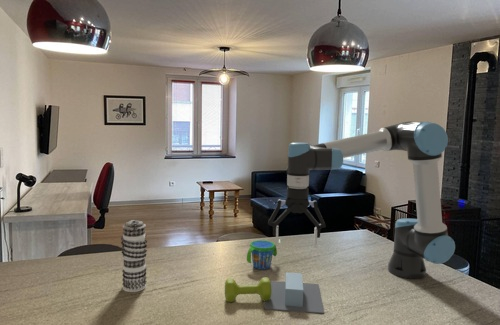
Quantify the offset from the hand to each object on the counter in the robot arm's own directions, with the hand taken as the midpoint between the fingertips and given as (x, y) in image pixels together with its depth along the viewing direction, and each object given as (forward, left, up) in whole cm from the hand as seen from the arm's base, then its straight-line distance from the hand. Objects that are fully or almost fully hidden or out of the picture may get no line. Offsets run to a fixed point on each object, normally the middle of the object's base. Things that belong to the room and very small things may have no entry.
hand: (295, 245), depth 136 cm
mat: (0, 0, -19) cm, 19 cm away
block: (0, +8, -16) cm, 18 cm away
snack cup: (+13, -26, -19) cm, 35 cm away
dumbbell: (+16, +5, -19) cm, 26 cm away
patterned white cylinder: (+59, +1, -19) cm, 62 cm away
